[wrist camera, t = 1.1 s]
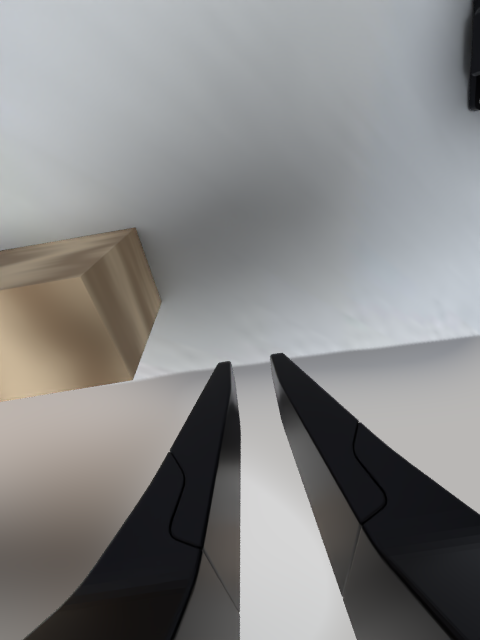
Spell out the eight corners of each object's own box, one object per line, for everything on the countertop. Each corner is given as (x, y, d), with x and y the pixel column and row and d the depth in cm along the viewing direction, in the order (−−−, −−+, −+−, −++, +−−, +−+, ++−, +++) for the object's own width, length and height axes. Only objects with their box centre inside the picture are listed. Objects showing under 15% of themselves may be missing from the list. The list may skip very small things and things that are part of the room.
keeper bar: (135, 227, 19) (80, 276, 11) (161, 301, 22) (132, 380, 14) (-86, 265, 19) (-293, 340, 11) (-28, 333, 22) (-157, 427, 14)
